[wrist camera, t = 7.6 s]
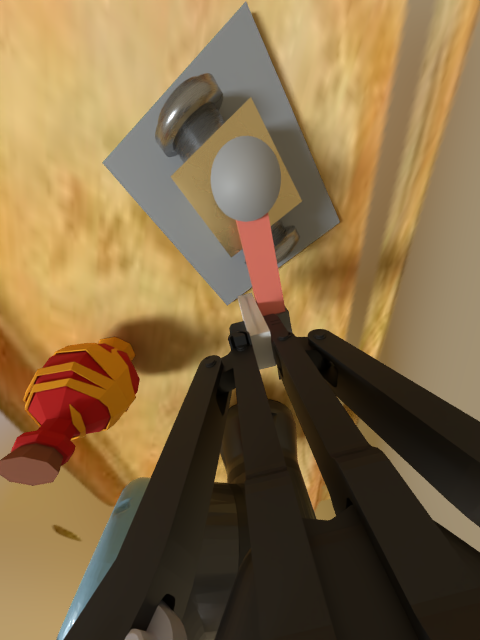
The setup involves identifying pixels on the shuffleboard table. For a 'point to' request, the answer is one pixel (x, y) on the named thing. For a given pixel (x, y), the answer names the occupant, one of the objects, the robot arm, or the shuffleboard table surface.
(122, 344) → the potion bottle
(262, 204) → the lever
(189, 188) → the valve body
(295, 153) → the slate board
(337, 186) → the shuffleboard table surface
